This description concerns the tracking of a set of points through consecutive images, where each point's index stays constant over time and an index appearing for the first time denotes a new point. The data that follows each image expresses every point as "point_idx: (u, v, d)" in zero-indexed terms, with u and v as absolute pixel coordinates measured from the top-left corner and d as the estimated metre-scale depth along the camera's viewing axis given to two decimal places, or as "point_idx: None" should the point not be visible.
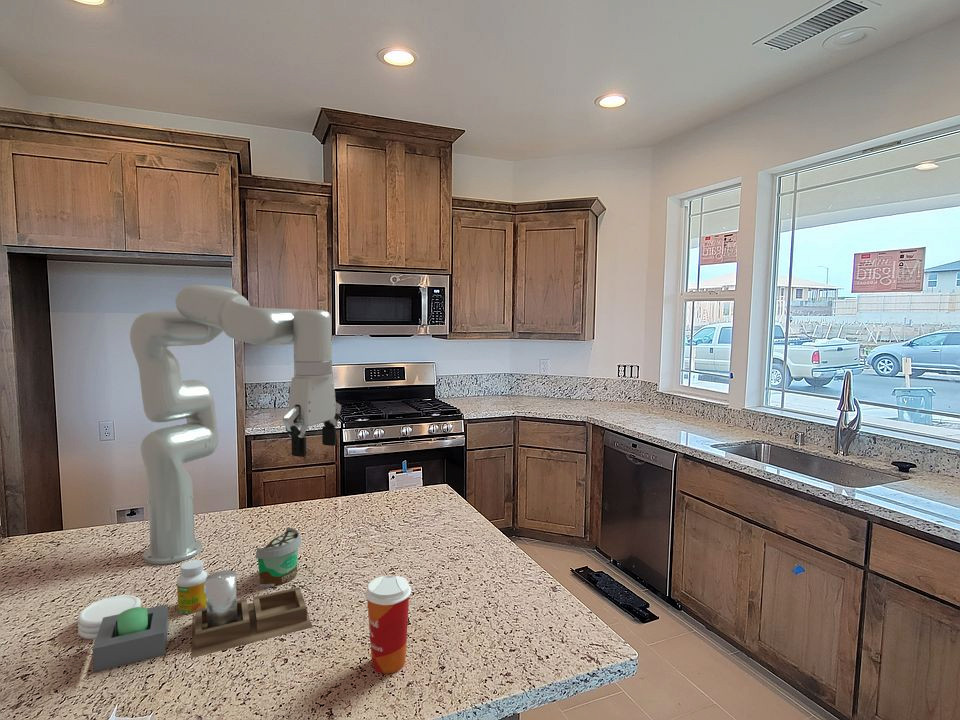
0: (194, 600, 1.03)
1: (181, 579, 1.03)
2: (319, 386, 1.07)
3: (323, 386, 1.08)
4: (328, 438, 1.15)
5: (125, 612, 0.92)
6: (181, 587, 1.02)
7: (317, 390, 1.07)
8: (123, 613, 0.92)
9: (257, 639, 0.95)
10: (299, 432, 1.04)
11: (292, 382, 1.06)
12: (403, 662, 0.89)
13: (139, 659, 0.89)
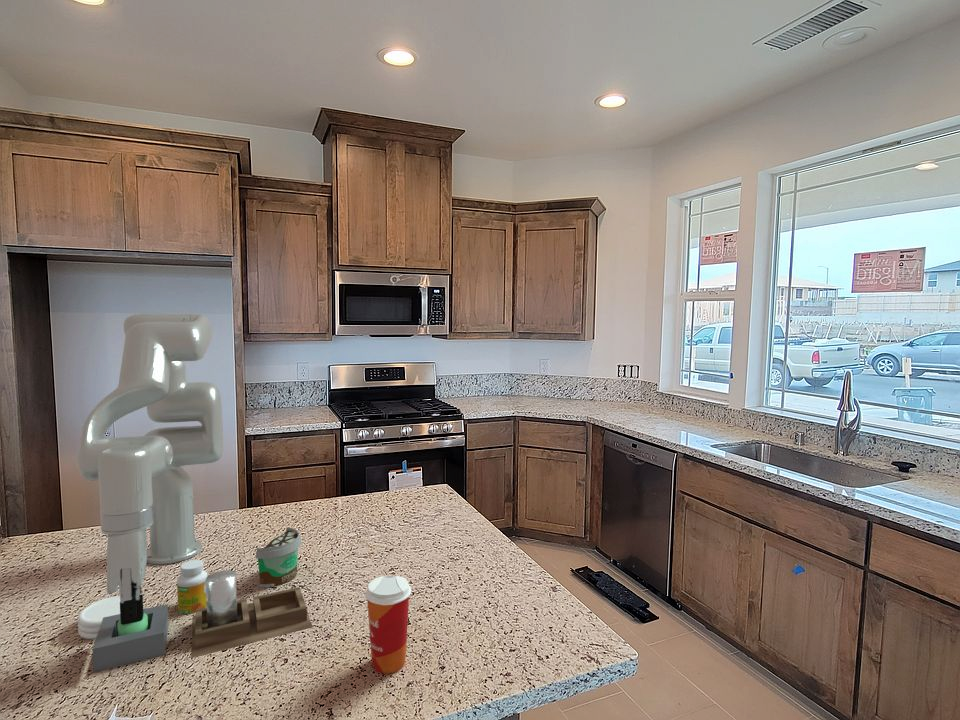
0: (194, 600, 1.03)
1: (181, 579, 1.03)
2: (144, 536, 0.91)
3: (145, 535, 0.92)
4: None
5: None
6: (181, 587, 1.02)
7: (144, 542, 0.90)
8: None
9: (257, 639, 0.95)
10: (137, 594, 0.91)
11: (112, 542, 0.86)
12: (403, 662, 0.89)
13: (139, 659, 0.89)
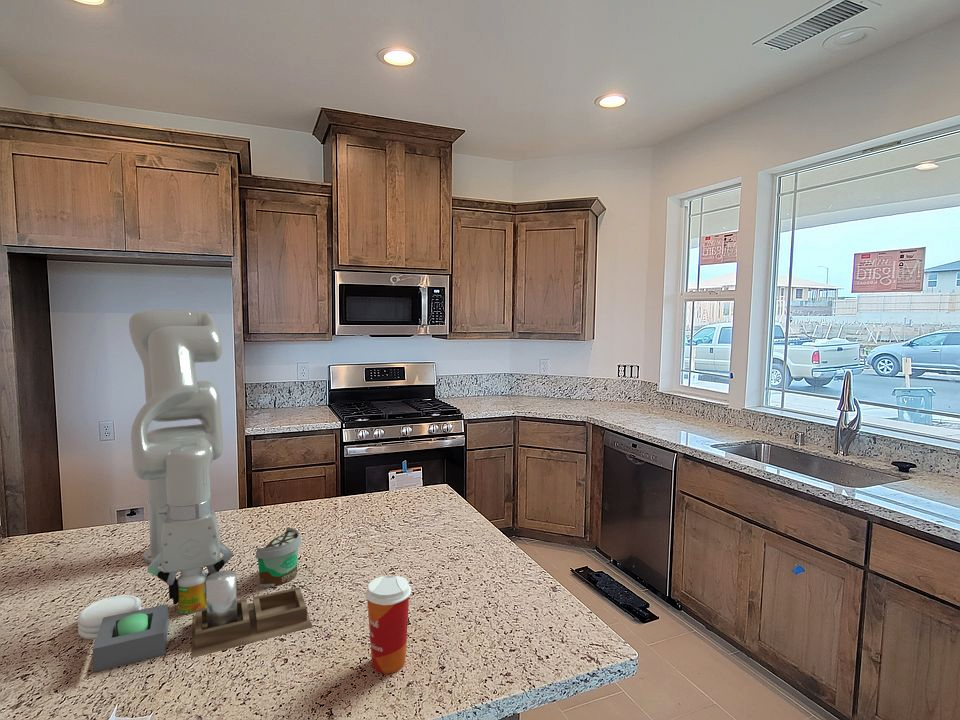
0: (194, 600, 1.03)
1: (181, 579, 1.03)
2: None
3: None
4: None
5: (125, 619, 0.93)
6: (180, 587, 1.02)
7: None
8: (123, 620, 0.92)
9: (257, 639, 0.95)
10: None
11: (215, 519, 1.05)
12: (403, 662, 0.89)
13: (139, 659, 0.89)
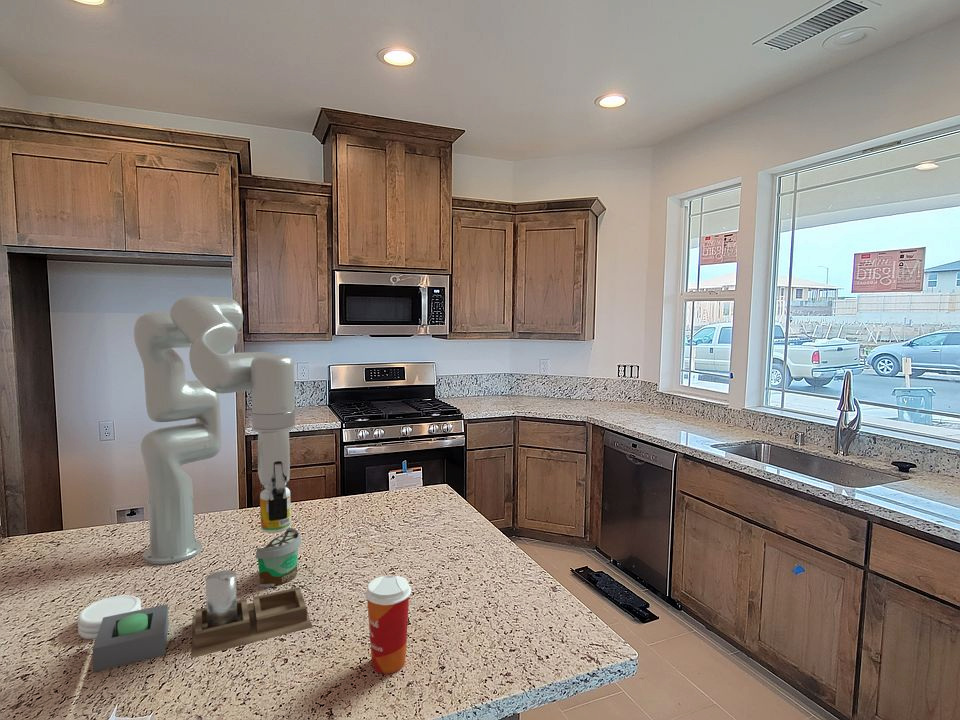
0: None
1: None
2: None
3: None
4: None
5: (125, 619, 0.93)
6: None
7: None
8: (123, 620, 0.92)
9: (257, 639, 0.95)
10: (284, 493, 0.97)
11: (267, 438, 0.95)
12: (403, 662, 0.89)
13: (139, 659, 0.89)
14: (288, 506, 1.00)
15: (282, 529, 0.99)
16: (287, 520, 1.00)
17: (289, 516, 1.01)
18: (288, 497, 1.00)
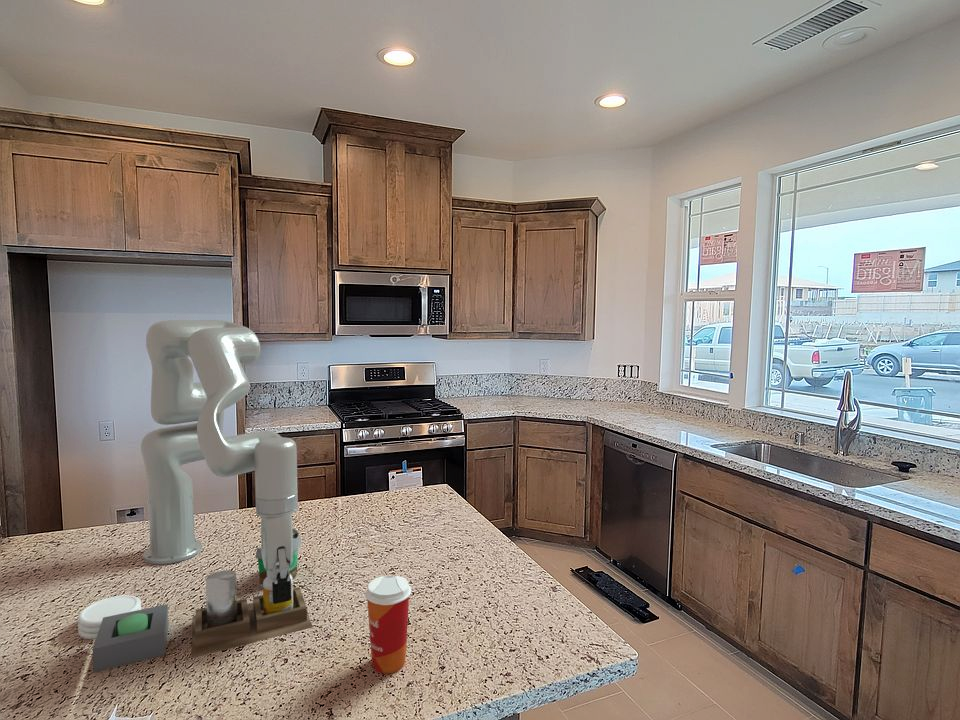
0: (263, 601, 1.01)
1: None
2: None
3: None
4: None
5: (125, 619, 0.93)
6: None
7: None
8: (123, 620, 0.92)
9: (257, 639, 0.95)
10: (288, 576, 0.97)
11: (270, 524, 0.96)
12: (403, 662, 0.89)
13: (139, 659, 0.89)
14: None
15: None
16: (290, 608, 1.02)
17: (291, 603, 1.02)
18: None
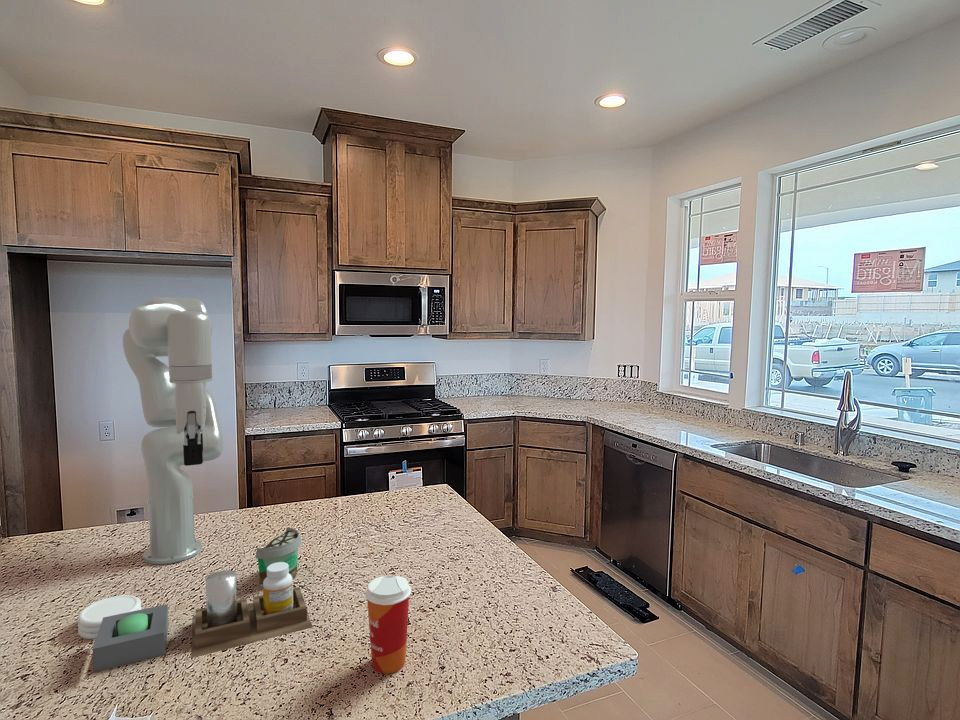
0: (263, 601, 1.01)
1: None
2: (205, 390, 1.05)
3: None
4: None
5: (125, 619, 0.93)
6: None
7: (205, 394, 1.04)
8: (123, 620, 0.92)
9: (257, 639, 0.95)
10: (198, 439, 1.01)
11: (181, 388, 1.00)
12: (403, 662, 0.89)
13: (139, 659, 0.89)
14: (290, 594, 1.02)
15: None
16: (290, 608, 1.02)
17: (291, 603, 1.02)
18: (291, 585, 1.02)
